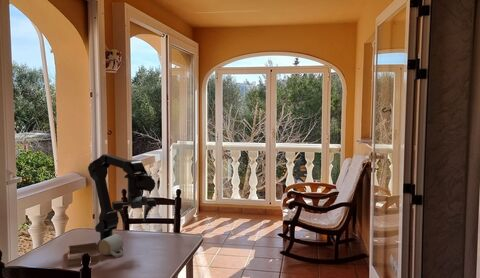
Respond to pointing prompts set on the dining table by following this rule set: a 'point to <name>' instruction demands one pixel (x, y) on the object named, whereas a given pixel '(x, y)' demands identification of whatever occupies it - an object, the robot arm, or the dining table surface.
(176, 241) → the dining table surface
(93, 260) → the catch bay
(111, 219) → the robot arm
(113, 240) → the ceramic mug
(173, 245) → the dining table surface
